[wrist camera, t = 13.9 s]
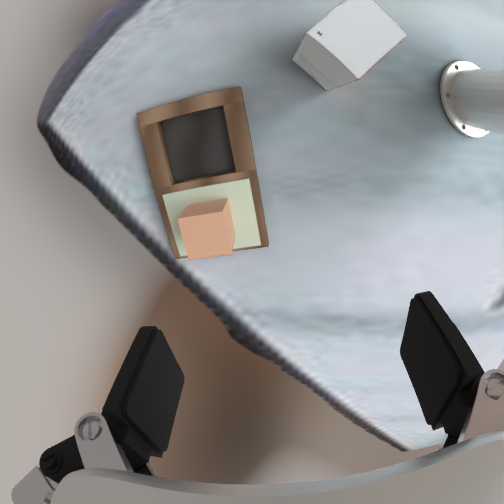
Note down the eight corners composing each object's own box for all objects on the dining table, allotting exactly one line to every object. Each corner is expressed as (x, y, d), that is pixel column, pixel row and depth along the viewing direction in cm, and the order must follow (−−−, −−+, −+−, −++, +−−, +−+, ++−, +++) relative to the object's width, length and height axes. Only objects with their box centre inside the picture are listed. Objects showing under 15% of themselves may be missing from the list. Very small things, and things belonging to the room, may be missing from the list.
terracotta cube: (228, 197, 37) (222, 211, 32) (235, 235, 39) (231, 254, 34) (188, 204, 37) (177, 218, 32) (197, 241, 40) (188, 259, 35)
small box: (327, 92, 31) (358, 81, 20) (290, 59, 30) (303, 32, 18) (365, 56, 28) (409, 35, 17) (330, 24, 27) (359, -12, 15)
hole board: (241, 87, 32) (240, 86, 30) (268, 242, 41) (268, 247, 40) (141, 113, 33) (135, 113, 32) (178, 254, 43) (174, 260, 41)
